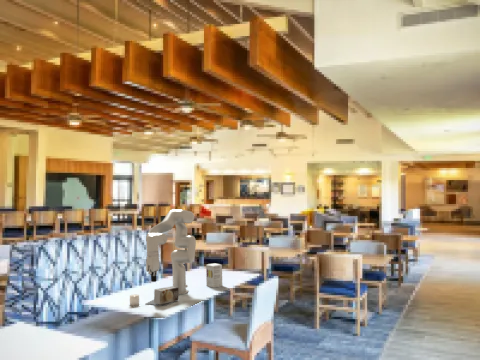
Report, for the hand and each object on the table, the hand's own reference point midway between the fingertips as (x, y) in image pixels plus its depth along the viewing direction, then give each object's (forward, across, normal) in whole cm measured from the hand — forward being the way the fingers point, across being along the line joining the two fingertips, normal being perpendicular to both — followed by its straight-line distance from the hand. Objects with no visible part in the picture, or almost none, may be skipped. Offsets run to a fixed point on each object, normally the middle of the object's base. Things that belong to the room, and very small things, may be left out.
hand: (153, 281), depth 269 cm
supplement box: (+18, -62, +17) cm, 67 cm away
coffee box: (+10, 0, +2) cm, 10 cm away
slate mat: (+16, -9, 0) cm, 19 cm away
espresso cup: (+16, +1, -15) cm, 22 cm away
